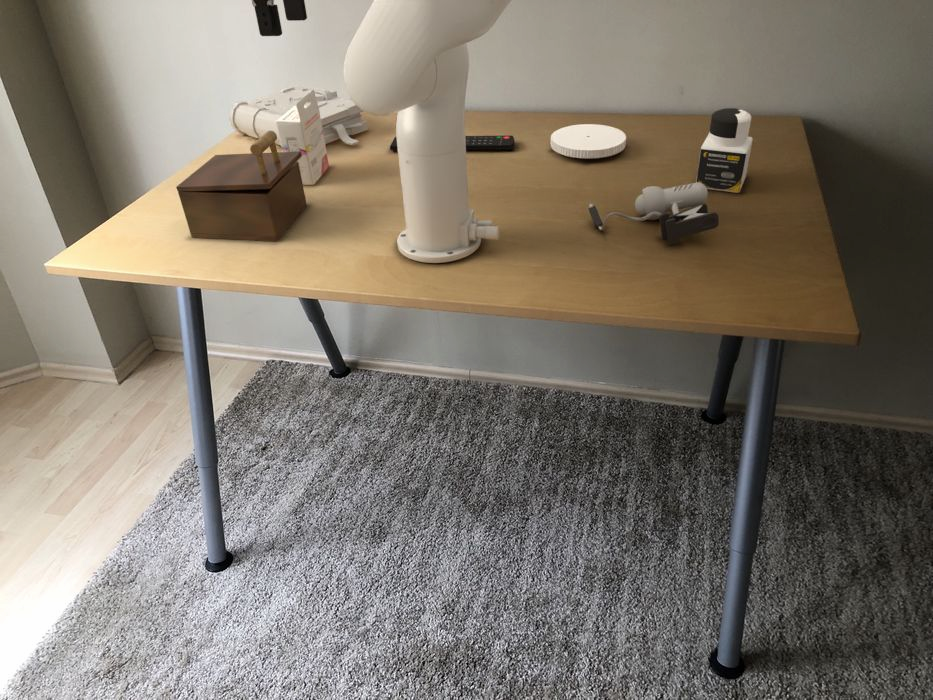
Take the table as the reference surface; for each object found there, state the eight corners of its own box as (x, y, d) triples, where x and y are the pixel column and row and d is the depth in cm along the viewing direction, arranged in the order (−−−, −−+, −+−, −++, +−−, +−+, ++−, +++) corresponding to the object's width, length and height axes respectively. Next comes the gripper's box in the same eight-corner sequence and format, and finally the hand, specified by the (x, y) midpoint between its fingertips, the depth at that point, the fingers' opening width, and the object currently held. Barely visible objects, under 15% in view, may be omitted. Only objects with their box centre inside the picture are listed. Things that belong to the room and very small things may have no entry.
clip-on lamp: (596, 262, 109) (721, 239, 105) (588, 227, 105) (718, 201, 101) (592, 220, 118) (707, 197, 113) (585, 186, 114) (704, 161, 110)
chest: (307, 205, 124) (298, 161, 119) (276, 241, 114) (266, 194, 109) (228, 202, 127) (216, 159, 122) (191, 237, 116) (177, 192, 112)
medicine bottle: (694, 188, 122) (705, 116, 115) (703, 172, 127) (713, 103, 120) (739, 193, 119) (752, 121, 112) (745, 177, 124) (758, 106, 117)
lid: (302, 156, 119) (293, 121, 115) (269, 188, 108) (259, 152, 105) (216, 159, 122) (206, 126, 119) (177, 191, 112) (165, 156, 108)
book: (317, 164, 139) (310, 124, 135) (231, 136, 154) (222, 100, 150) (388, 134, 151) (384, 97, 146) (302, 111, 166) (296, 76, 161)
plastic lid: (625, 137, 142) (626, 124, 141) (625, 164, 131) (626, 150, 130) (553, 136, 145) (553, 123, 143) (547, 163, 134) (547, 149, 132)
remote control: (395, 143, 146) (395, 136, 145) (515, 142, 143) (515, 135, 142) (390, 152, 142) (390, 146, 141) (513, 152, 139) (513, 145, 138)
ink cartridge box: (305, 166, 138) (290, 87, 130) (330, 167, 137) (316, 88, 129) (287, 185, 132) (270, 103, 123) (313, 185, 131) (298, 103, 122)
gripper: (259, -105, 90) (286, 42, 100) (309, -116, 103) (328, 14, 114) (203, -102, 91) (235, 42, 101) (260, -113, 105) (283, 15, 115)
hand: (284, 27), depth 107 cm, fingers open, 9 cm apart
